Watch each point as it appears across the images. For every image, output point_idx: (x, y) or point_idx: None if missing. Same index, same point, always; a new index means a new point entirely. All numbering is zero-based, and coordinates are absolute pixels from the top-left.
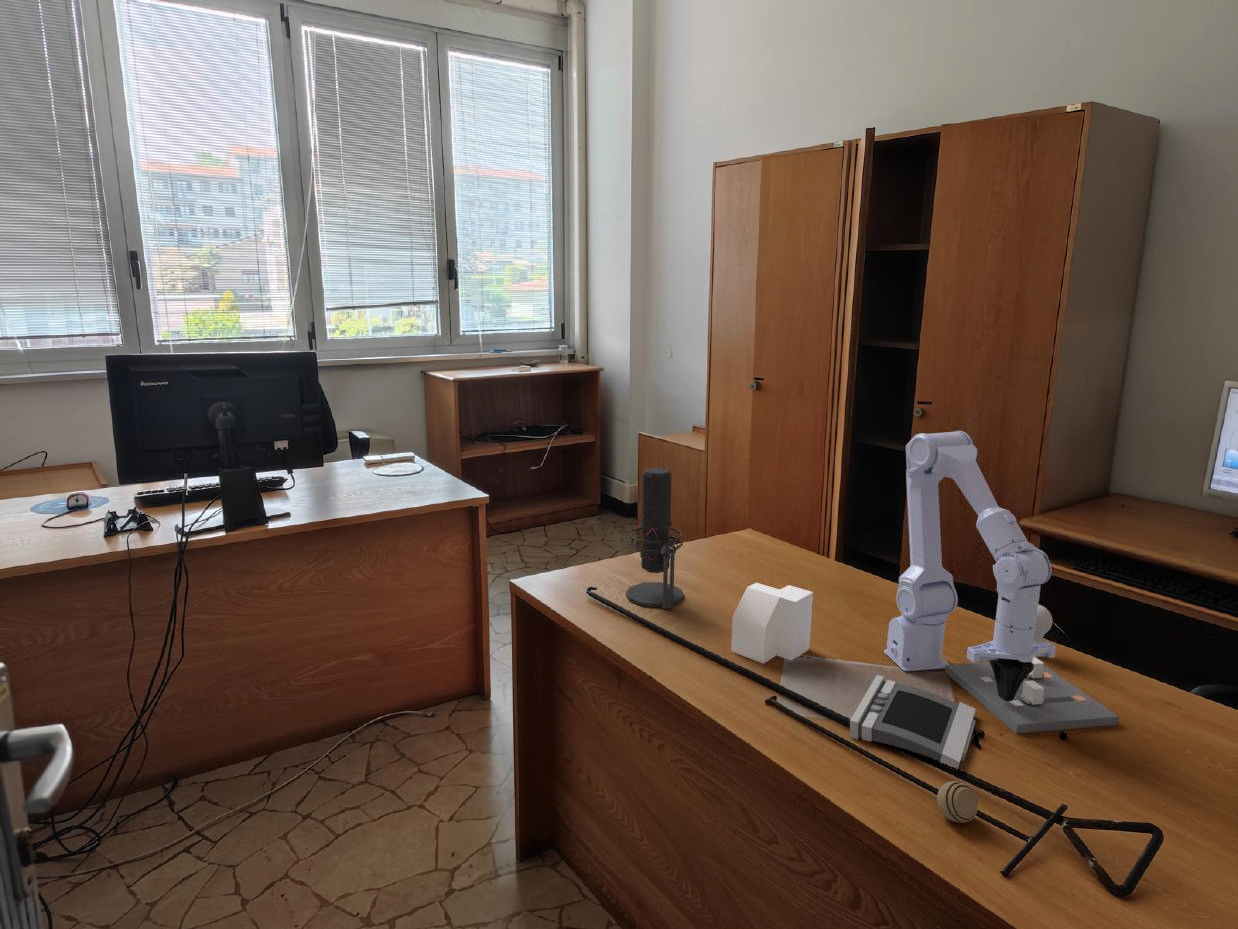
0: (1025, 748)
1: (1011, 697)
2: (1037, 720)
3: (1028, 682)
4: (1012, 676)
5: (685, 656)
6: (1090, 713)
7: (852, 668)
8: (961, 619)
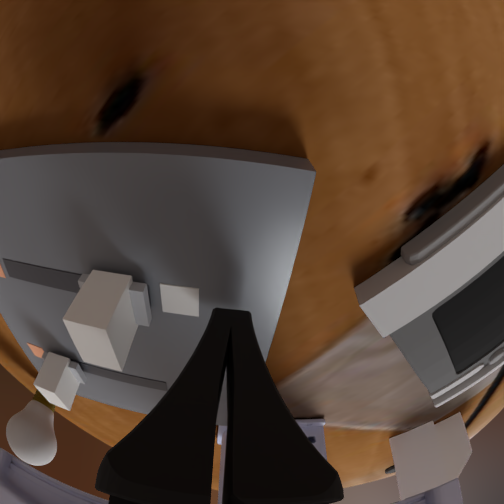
0: (358, 65)
1: (228, 321)
2: (182, 177)
3: (107, 362)
4: (264, 438)
5: (488, 408)
6: None
7: (390, 418)
8: None
